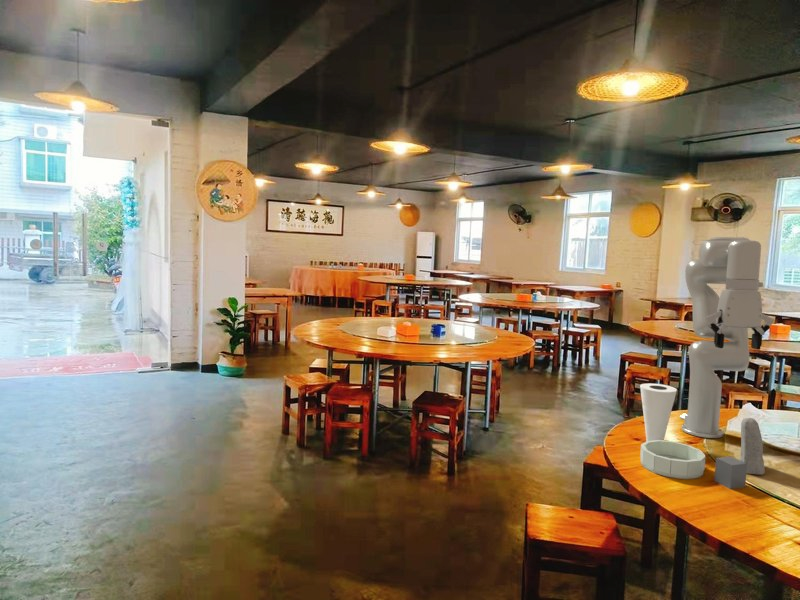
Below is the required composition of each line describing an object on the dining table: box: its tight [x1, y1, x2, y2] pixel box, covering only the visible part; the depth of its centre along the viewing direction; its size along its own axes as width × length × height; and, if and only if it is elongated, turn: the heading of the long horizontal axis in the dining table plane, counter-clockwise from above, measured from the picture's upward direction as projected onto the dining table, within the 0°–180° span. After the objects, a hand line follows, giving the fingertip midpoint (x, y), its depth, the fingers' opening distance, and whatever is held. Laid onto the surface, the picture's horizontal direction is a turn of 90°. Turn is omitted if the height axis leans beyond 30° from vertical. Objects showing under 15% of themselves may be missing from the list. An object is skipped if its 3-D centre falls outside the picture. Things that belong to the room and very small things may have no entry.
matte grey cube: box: [714, 455, 747, 490], centre depth 145 cm, size 5×5×6 cm
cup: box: [639, 382, 678, 442], centre depth 174 cm, size 11×11×18 cm
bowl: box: [639, 439, 706, 480], centre depth 155 cm, size 16×16×5 cm
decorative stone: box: [739, 417, 766, 476], centre depth 155 cm, size 11×6×15 cm, turn 156°
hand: (737, 348), depth 149 cm, fingers open, 9 cm apart
